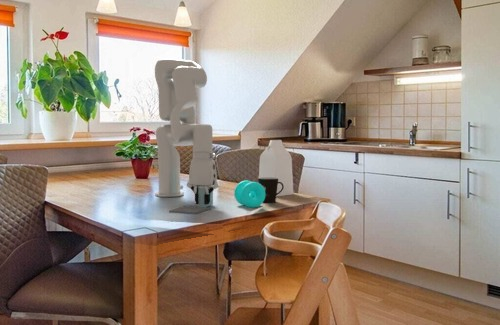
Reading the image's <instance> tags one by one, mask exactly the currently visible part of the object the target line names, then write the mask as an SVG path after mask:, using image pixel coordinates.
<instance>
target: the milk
mask: <svg viewBox="0 0 500 325" xmlns="http://www.w3.org/2000/svg"><path fill="white" fill-rule="evenodd" d="M258 166H259V167H258V178H262V177H273V178H278V182H281V183H283V186H284V188H283V190H282V191H281V189H282V185H281V184H280V183H278V186H277V193H278V192H279V191H281V192H280V193H279V194H278V195H276V196H278V197H281V196H288V195H294V179H293V178H294V177H293V159H292V155H291V154H290V152H289V150H288V149H286V147H285V146H284V145H283V141H282V139H270V140H269V144H268V146H266V148H265V149H264V150H263V152H262V153H261V154H260V155H259V164H258Z"/></svg>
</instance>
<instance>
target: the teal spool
mask: <svg viewBox="0 0 500 325" xmlns="http://www.w3.org/2000/svg"><path fill="white" fill-rule="evenodd" d="M233 193H234V194H233V196H234V199H235V200H236V203H238V204H240V205H242V206H246V207H248V208H251V209H254V208H258V207H260V206H261V205H262V204H263V201H264V199H265V190H264V188H263V186H262V185H261V184H259V183H258V181H257V182H256V181H251V180H247V179H246V180H242V181H240V182H239V183H237V184H236V186H235V188H234V191H233Z"/></svg>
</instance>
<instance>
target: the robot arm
mask: <svg viewBox="0 0 500 325" xmlns="http://www.w3.org/2000/svg"><path fill="white" fill-rule="evenodd" d="M154 78H155V81H156V85H157V89H158V115H159V118H160V120H162V121H165V122H169V124H161V125H159V126H158V127H157V128H156V129H155V130H156V131H155V139H156V143H157V155H158V156H157V157H158V166H157V167H158V172H157V173H158V174H157V175H158V192H155V193H154V195H155V197H163V198H172V197H173V198H176V197H182V196H184V192H183V191H181V190H183V189H184V186H183V185H181V157H180V153H179V151H178V150H177V148H176V147H188V146H192V159H191V160H190V165H189V172H188V173H189V174H188V181H187V183H186V187H187V188H189V189H191V191H192V193H193V194H194V202H195V204H196V205H198V186H205V191H206V194H205V195H204V204H205V205H207V204H209V202H210V194H211V192H212V191H213V192H214V191H215V190H216V189H218V188H219V187H220V186H219V183H218V179H217V178H218V177H217V176H218V175H217V167H216V161H215V160H214V158H216V155H217V154H216V153H214V151H213V127H212V125H211V124H204V123H202V124H200V123H196V113H195V112H196V111H195V106H196V104H197V103H198V102H199V98H198V97H199V96H198V93H197V89H198V88H199V89H202V88H205V87H206V85H207V81H208V76H207V72H206V71H205V69H204V68H203V67H202V66H200V64H198V63H196V62H195V61H193V60H188V59H187V60H186V59H179V58H178V59H177V58H160V59H158V60H157V61H156V63H155V66H154ZM212 185H213V187H211V186H212Z"/></svg>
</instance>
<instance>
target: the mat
mask: <svg viewBox="0 0 500 325" xmlns="http://www.w3.org/2000/svg"><path fill="white" fill-rule="evenodd" d="M209 210H211V207H209V206H207V207H198V206H192V205H191V206H187V205H183V206H180V207H177V208H174V209H170V210H169V211H168V213H175V214H177V213H179V214H193V215H194V214H195V215H197V214H201V213H203V212H207V211H209Z"/></svg>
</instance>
